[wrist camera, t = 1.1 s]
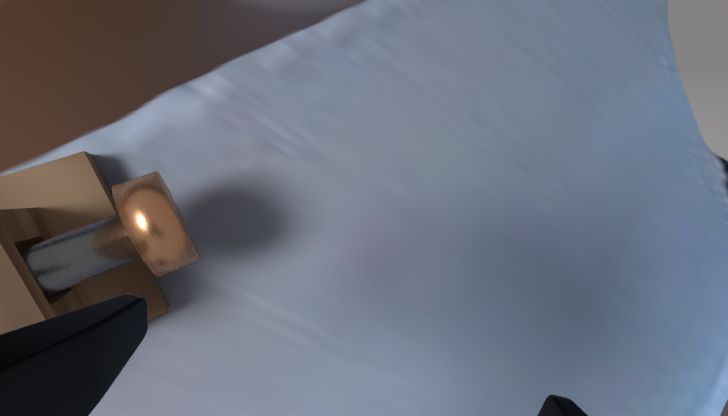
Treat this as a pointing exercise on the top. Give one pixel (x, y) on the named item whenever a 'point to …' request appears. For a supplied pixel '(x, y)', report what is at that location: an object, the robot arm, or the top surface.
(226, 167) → the top surface
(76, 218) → the bearing stand
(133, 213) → the shaft
